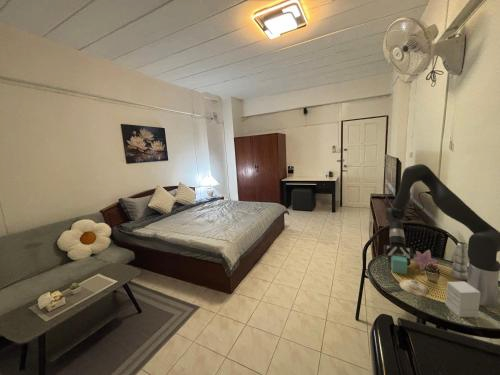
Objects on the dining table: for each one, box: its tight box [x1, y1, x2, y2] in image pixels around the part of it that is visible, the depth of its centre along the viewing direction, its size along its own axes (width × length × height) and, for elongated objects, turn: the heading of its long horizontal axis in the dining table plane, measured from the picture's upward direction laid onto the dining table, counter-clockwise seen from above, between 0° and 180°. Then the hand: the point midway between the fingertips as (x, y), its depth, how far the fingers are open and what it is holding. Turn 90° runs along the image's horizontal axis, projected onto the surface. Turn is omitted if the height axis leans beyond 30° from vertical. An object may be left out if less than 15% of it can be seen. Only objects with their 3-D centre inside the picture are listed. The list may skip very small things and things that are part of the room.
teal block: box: [390, 254, 408, 275], centre depth 120 cm, size 7×7×8 cm
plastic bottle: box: [450, 241, 469, 281], centre depth 110 cm, size 6×7×20 cm
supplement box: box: [445, 281, 481, 320], centre depth 90 cm, size 7×7×13 cm
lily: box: [410, 249, 438, 271], centre depth 123 cm, size 12×12×10 cm
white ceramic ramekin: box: [409, 279, 420, 290], centre depth 106 cm, size 4×4×3 cm
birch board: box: [399, 279, 430, 296], centre depth 107 cm, size 12×12×1 cm
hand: (399, 264), depth 120 cm, fingers open, 8 cm apart
